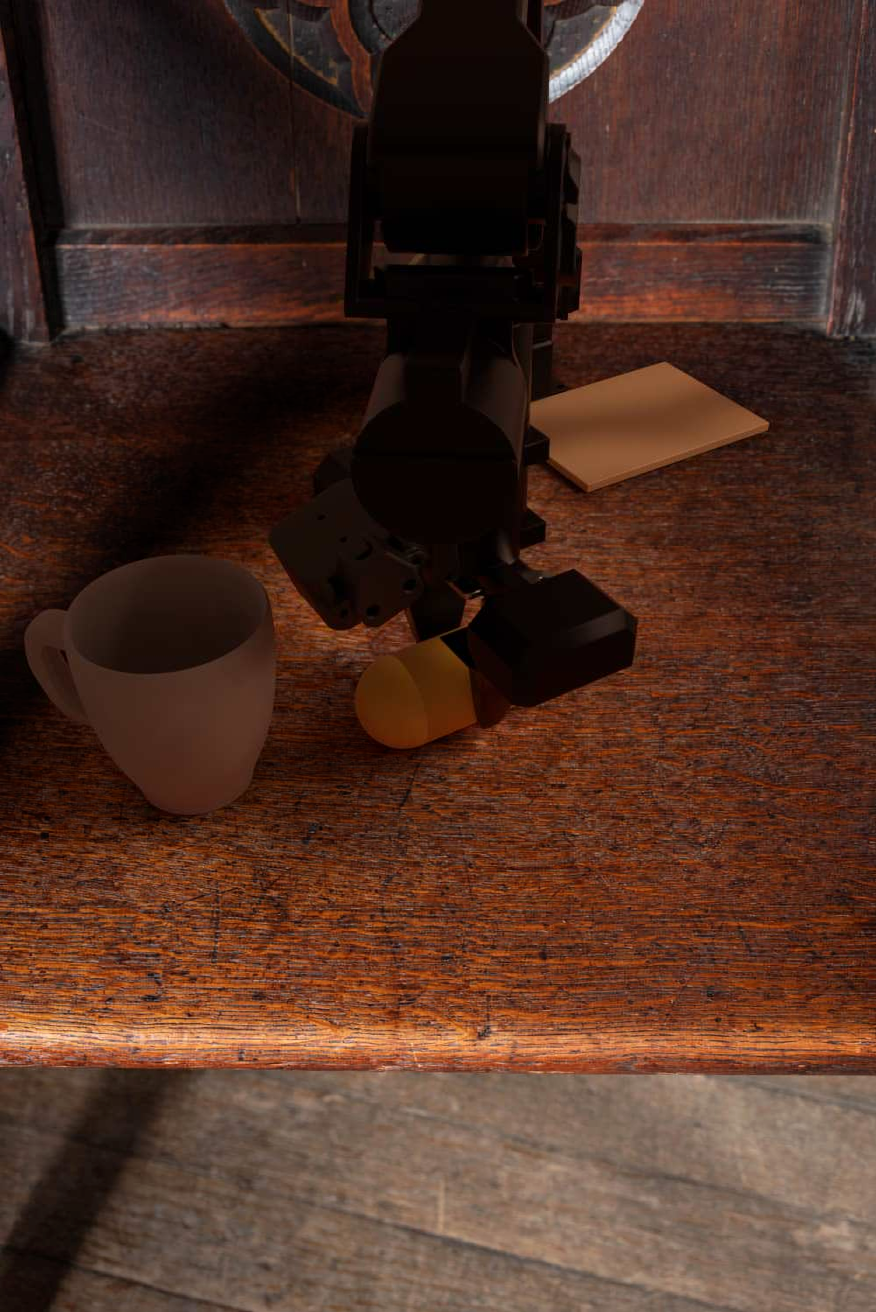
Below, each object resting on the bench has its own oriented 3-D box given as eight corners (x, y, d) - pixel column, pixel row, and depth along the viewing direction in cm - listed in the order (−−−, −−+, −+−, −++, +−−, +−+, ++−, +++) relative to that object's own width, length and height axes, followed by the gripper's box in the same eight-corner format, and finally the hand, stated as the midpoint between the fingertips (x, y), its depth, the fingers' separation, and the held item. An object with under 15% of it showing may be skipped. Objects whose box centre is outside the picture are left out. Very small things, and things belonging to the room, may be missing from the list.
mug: (319, 732, 61) (303, 570, 55) (242, 862, 55) (214, 695, 49) (102, 686, 64) (64, 528, 58) (5, 804, 58) (-49, 639, 52)
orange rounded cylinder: (566, 636, 67) (571, 565, 64) (619, 683, 64) (626, 611, 61) (340, 725, 62) (334, 652, 59) (386, 781, 59) (382, 707, 56)
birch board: (491, 421, 86) (491, 413, 86) (664, 368, 92) (665, 361, 91) (586, 493, 78) (587, 484, 78) (768, 430, 84) (769, 422, 84)
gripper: (193, 372, 55) (234, 650, 65) (403, 581, 43) (415, 886, 52) (413, 315, 60) (420, 583, 69) (662, 490, 47) (628, 787, 57)
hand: (462, 696), depth 62 cm, fingers closed on orange rounded cylinder, 4 cm apart
